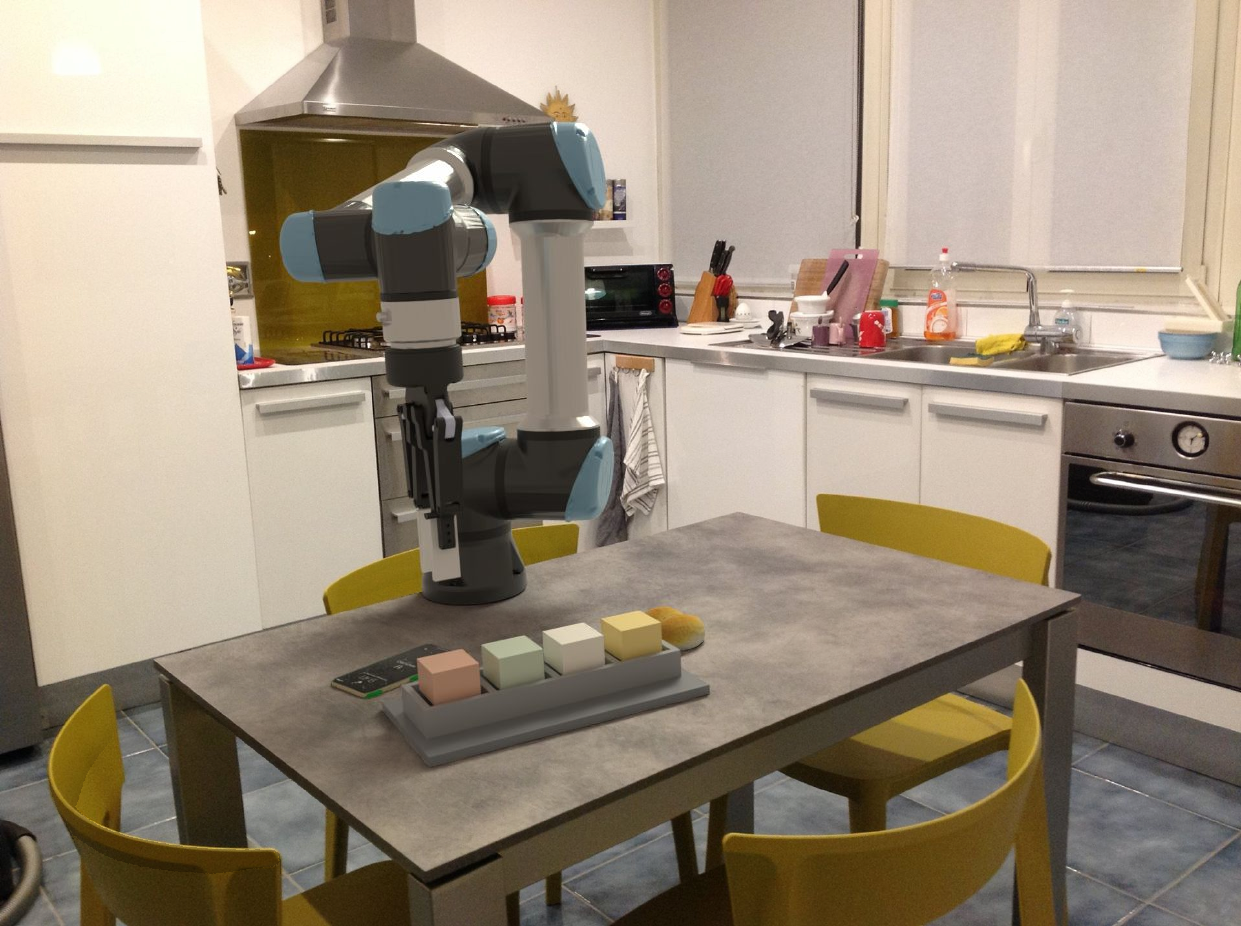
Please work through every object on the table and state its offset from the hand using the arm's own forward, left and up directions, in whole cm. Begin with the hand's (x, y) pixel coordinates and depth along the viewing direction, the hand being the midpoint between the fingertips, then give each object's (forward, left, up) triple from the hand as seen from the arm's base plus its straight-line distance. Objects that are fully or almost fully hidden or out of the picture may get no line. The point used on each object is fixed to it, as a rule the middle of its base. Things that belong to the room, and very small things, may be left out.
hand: (440, 573), depth 115 cm
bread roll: (-9, +32, -17) cm, 37 cm away
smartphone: (-18, 0, -17) cm, 25 cm away
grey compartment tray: (0, +11, -17) cm, 20 cm away
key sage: (0, +7, -13) cm, 15 cm away
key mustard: (0, +22, -13) cm, 25 cm away
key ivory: (0, +14, -13) cm, 19 cm away
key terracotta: (0, 0, -13) cm, 13 cm away
